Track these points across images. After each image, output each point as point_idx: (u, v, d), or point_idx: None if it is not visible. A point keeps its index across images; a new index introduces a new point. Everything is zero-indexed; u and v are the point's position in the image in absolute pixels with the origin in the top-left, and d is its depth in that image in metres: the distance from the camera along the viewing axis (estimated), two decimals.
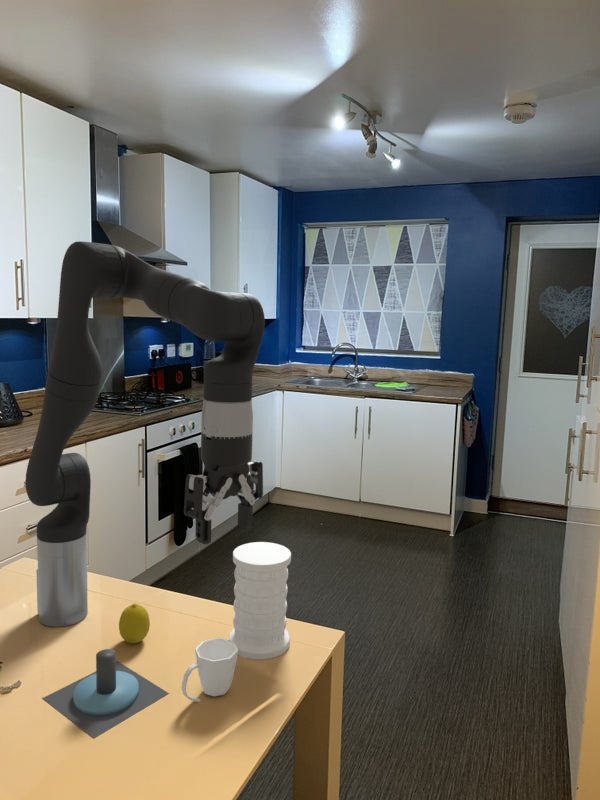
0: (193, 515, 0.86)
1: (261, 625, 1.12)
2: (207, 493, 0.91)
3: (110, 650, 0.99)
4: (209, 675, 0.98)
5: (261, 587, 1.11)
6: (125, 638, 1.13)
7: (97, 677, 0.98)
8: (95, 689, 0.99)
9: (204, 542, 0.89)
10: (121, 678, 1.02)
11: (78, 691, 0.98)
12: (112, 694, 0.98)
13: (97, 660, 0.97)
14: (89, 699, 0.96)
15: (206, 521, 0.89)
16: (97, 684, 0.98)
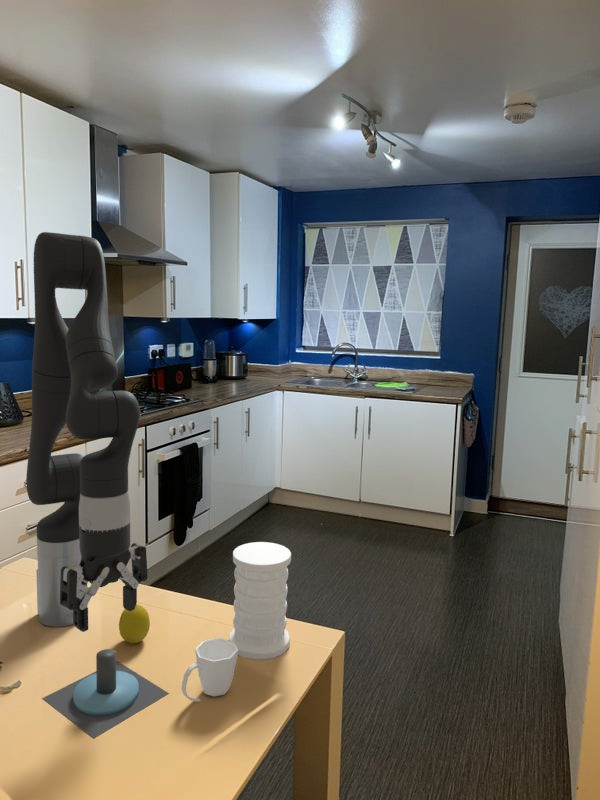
0: (67, 606, 0.90)
1: (261, 625, 1.12)
2: (86, 581, 0.95)
3: (110, 650, 0.99)
4: (209, 675, 0.98)
5: (261, 587, 1.11)
6: (125, 638, 1.13)
7: (97, 677, 0.98)
8: (95, 689, 0.99)
9: (81, 629, 0.93)
10: (121, 678, 1.02)
11: (78, 691, 0.98)
12: (112, 694, 0.98)
13: (97, 660, 0.97)
14: (89, 699, 0.96)
15: (82, 609, 0.93)
16: (97, 684, 0.98)
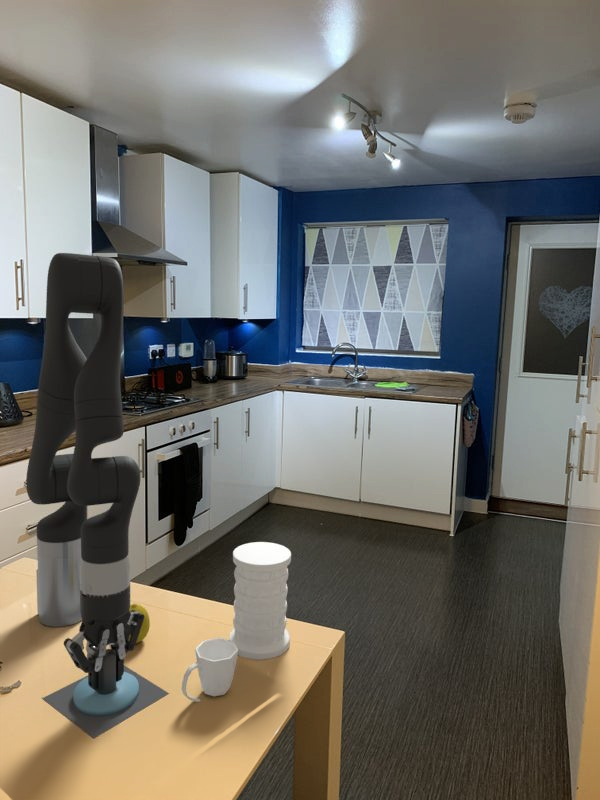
0: (83, 669, 0.94)
1: (261, 625, 1.12)
2: None
3: (110, 650, 0.99)
4: (209, 675, 0.98)
5: (261, 587, 1.11)
6: None
7: None
8: None
9: (96, 689, 0.97)
10: None
11: (78, 691, 0.98)
12: (112, 694, 0.98)
13: None
14: (89, 699, 0.96)
15: None
16: None
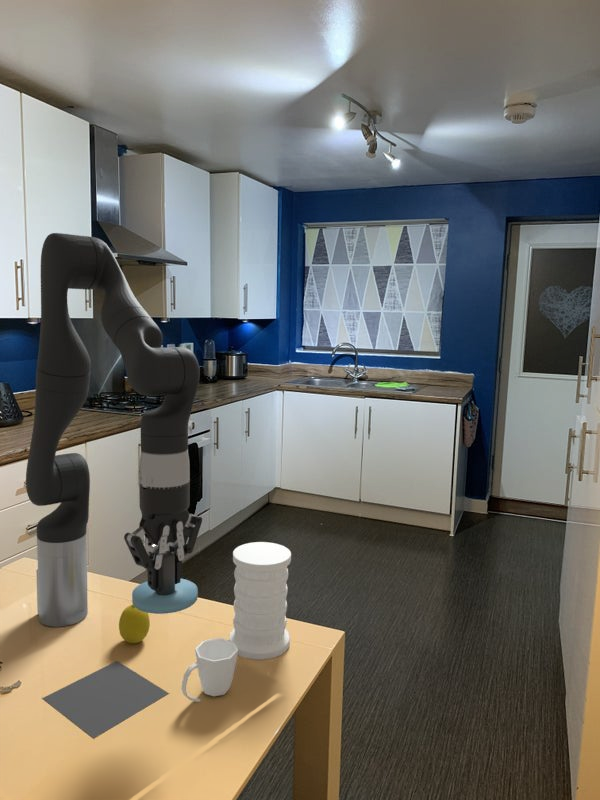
0: (143, 565, 0.92)
1: (261, 625, 1.12)
2: None
3: (169, 551, 0.97)
4: (209, 675, 0.98)
5: (261, 587, 1.11)
6: (125, 638, 1.13)
7: None
8: (154, 591, 0.96)
9: (156, 589, 0.94)
10: (179, 583, 0.99)
11: (137, 593, 0.96)
12: (171, 595, 0.95)
13: None
14: (149, 599, 0.94)
15: (156, 569, 0.94)
16: None
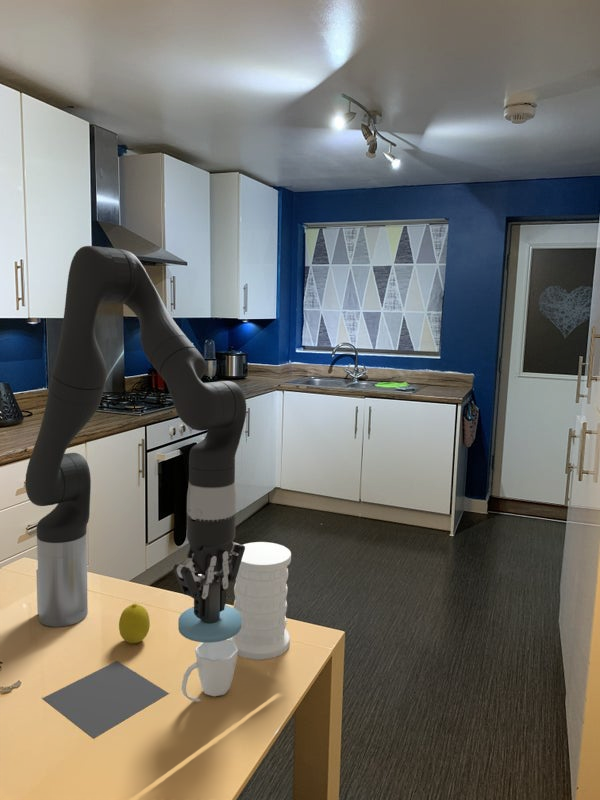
0: (191, 595, 0.94)
1: (261, 625, 1.12)
2: None
3: (214, 580, 0.99)
4: (209, 675, 0.98)
5: (261, 587, 1.11)
6: (125, 638, 1.13)
7: None
8: (199, 619, 0.98)
9: (202, 618, 0.96)
10: None
11: (183, 621, 0.97)
12: (217, 623, 0.97)
13: None
14: (196, 627, 0.96)
15: (203, 598, 0.96)
16: None
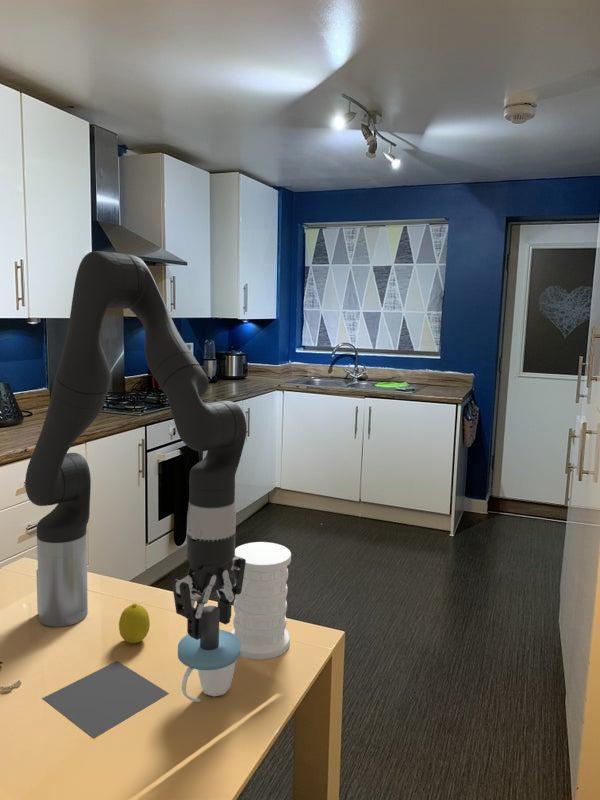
0: (185, 615, 0.93)
1: (261, 625, 1.12)
2: (195, 589, 0.97)
3: (213, 606, 0.99)
4: (209, 675, 0.98)
5: (261, 587, 1.11)
6: (125, 638, 1.13)
7: (202, 633, 0.98)
8: (198, 645, 0.99)
9: (195, 637, 0.96)
10: (221, 635, 1.02)
11: (182, 647, 0.98)
12: (216, 650, 0.98)
13: (202, 616, 0.97)
14: (195, 654, 0.96)
15: (197, 618, 0.95)
16: (201, 640, 0.98)
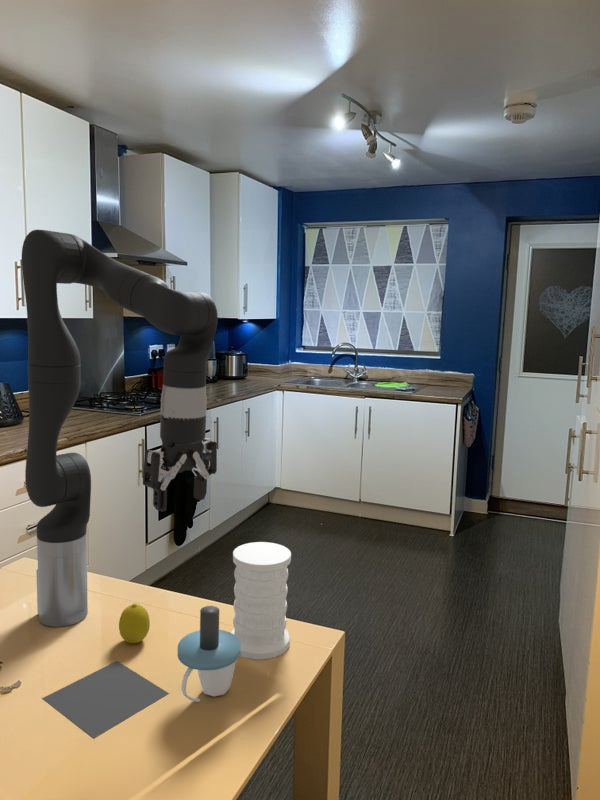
0: (150, 485, 0.99)
1: (261, 625, 1.12)
2: (165, 467, 1.04)
3: (213, 607, 0.99)
4: (209, 675, 0.98)
5: (261, 587, 1.11)
6: (125, 638, 1.13)
7: (201, 633, 0.98)
8: (198, 645, 0.99)
9: (160, 509, 1.02)
10: (221, 636, 1.02)
11: (182, 647, 0.98)
12: (216, 650, 0.98)
13: (202, 616, 0.97)
14: (195, 654, 0.96)
15: (162, 491, 1.01)
16: (201, 640, 0.98)
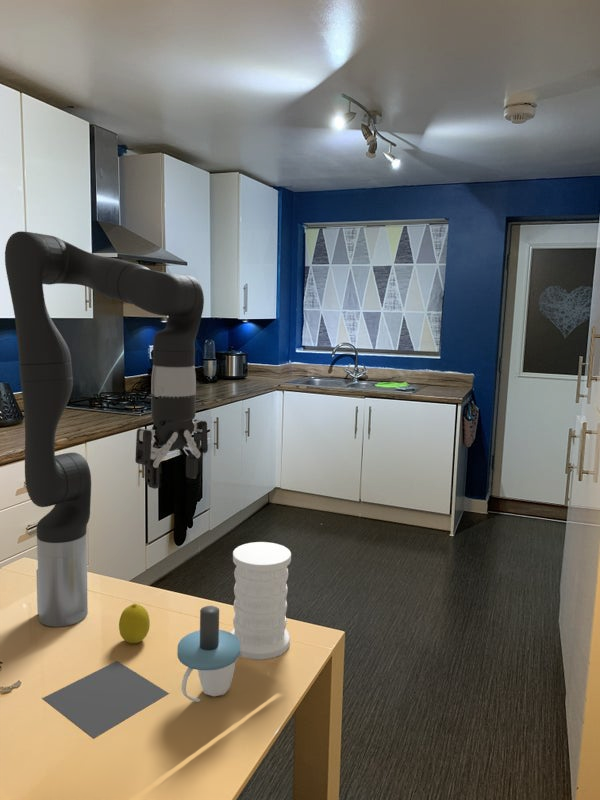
0: (143, 462, 1.02)
1: (261, 625, 1.12)
2: (157, 446, 1.06)
3: (213, 607, 0.99)
4: (209, 675, 0.98)
5: (261, 587, 1.11)
6: (125, 638, 1.13)
7: (201, 633, 0.98)
8: (198, 645, 0.99)
9: (153, 487, 1.05)
10: (221, 636, 1.02)
11: (182, 647, 0.98)
12: (216, 650, 0.98)
13: (201, 616, 0.97)
14: (195, 654, 0.96)
15: (154, 468, 1.04)
16: (201, 640, 0.98)
